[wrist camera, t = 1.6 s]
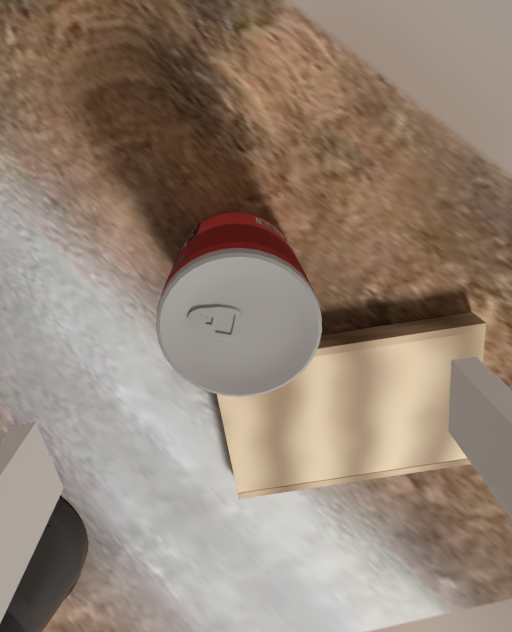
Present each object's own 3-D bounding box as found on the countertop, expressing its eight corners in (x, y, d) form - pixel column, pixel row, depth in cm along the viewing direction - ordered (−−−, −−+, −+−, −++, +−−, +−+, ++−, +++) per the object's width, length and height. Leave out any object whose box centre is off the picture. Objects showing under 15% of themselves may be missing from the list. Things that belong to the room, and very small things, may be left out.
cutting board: (238, 480, 38) (238, 499, 36) (211, 351, 33) (210, 365, 31) (463, 446, 38) (475, 463, 36) (471, 312, 33) (486, 322, 31)
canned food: (173, 212, 29) (143, 256, 19) (292, 206, 29) (325, 246, 19) (185, 317, 32) (165, 404, 22) (293, 311, 32) (322, 393, 22)
